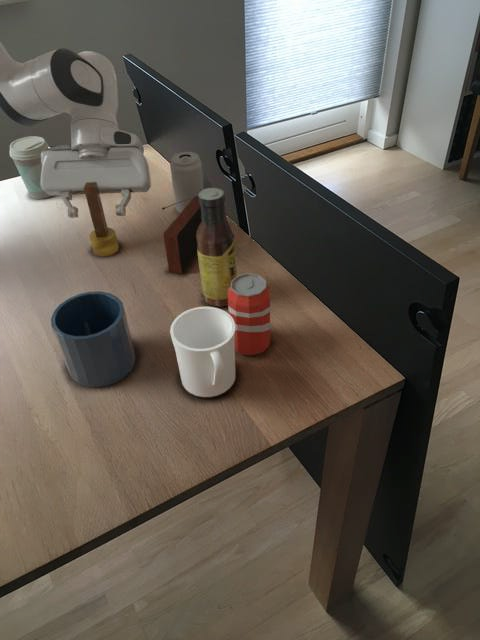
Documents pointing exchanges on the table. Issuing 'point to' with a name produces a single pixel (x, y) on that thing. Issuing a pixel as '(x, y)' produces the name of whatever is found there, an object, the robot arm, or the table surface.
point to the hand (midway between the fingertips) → (96, 216)
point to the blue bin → (94, 338)
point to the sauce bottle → (215, 248)
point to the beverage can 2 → (250, 313)
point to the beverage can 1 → (186, 177)
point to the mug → (205, 351)
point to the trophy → (99, 224)
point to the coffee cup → (30, 163)
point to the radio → (183, 236)
